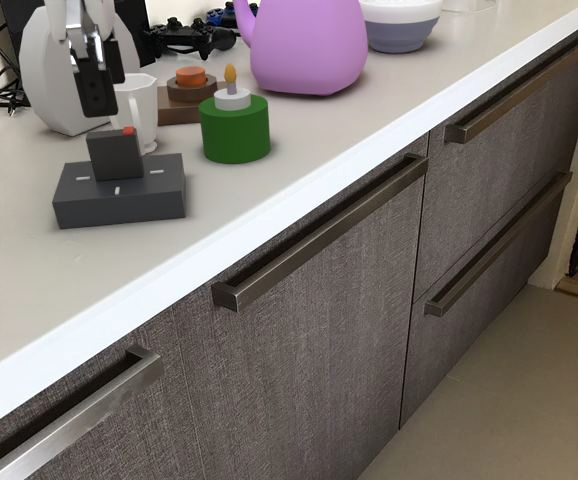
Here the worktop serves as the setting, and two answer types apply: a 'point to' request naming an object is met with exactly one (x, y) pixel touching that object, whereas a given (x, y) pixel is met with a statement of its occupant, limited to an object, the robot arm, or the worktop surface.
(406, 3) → the bowl
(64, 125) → the soap bottle
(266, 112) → the candle
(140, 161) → the block
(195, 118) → the switch block
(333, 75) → the teapot
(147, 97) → the cup
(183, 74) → the power button
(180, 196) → the dial panel
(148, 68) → the worktop surface
